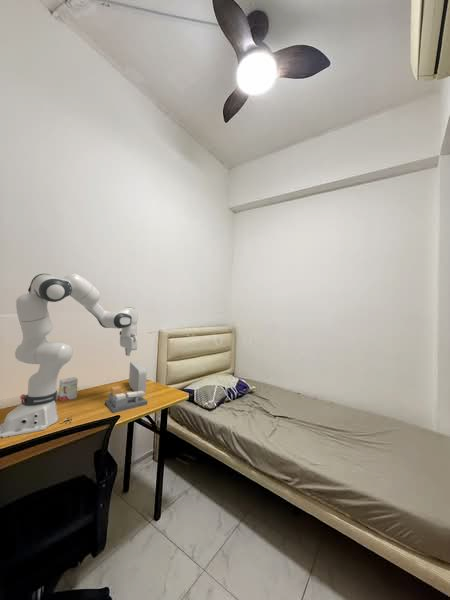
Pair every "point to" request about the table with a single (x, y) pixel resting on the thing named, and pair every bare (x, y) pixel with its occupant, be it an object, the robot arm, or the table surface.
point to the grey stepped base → (124, 403)
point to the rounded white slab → (137, 377)
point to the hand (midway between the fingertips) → (127, 355)
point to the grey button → (120, 396)
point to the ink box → (68, 389)
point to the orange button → (115, 390)
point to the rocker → (135, 394)
